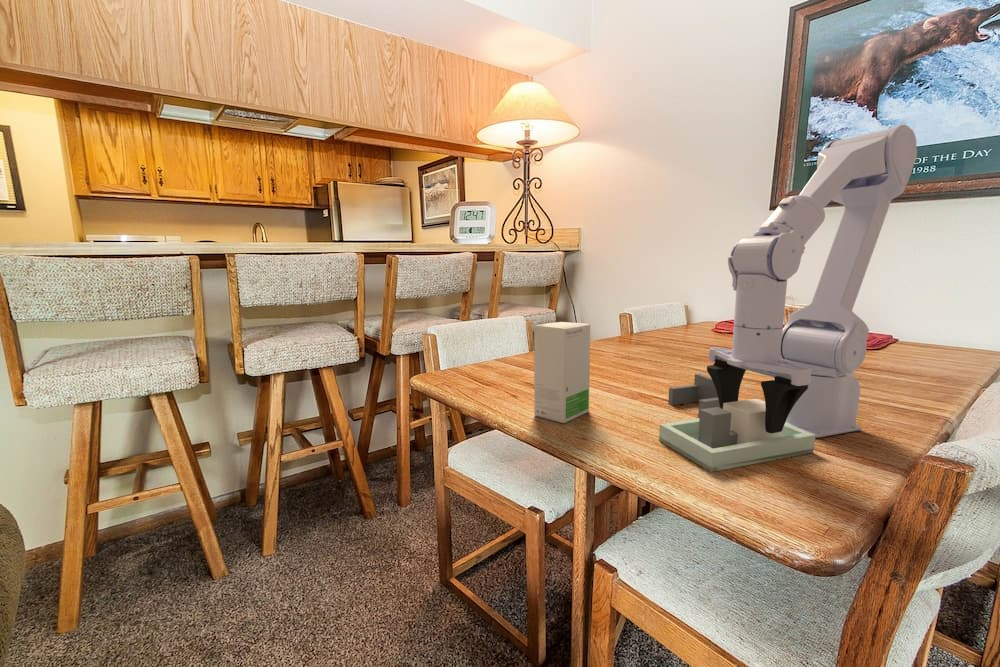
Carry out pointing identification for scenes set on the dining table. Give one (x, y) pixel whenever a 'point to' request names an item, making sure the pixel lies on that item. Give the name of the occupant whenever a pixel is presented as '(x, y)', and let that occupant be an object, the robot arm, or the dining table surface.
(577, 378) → the skincare box
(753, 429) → the joined block pair
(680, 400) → the bay
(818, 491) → the dining table surface
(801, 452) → the tray
